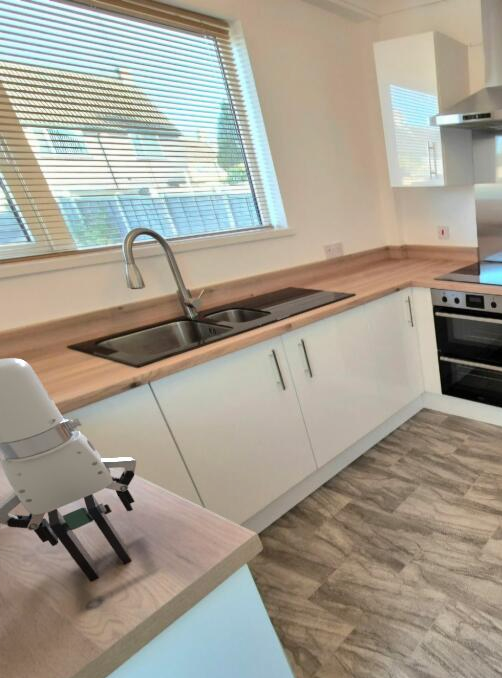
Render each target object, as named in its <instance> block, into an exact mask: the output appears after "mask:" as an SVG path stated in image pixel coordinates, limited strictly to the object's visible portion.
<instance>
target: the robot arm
mask: <svg viewBox="0 0 502 678" xmlns="http://www.w3.org/2000/svg"><path fill="white" fill-rule="evenodd" d="M79 427H83V423H82V422H81V419H79V418H78V417H77V418H74V419H71V418H70V419H68V418H65V417H64V416H63V415H62V413H61V412H60V410H59V408H58V407H57V405H56V404H55V402H54V400H53V399H52V397H51V396H50V395H49V393H48V391H47V389H46V388H45V387H44V385H43V383H42V381H41V380H40V378H39V377H38V375H37V374H36V372H35V370H34V368H33V367H32V366H31V365H30V363H28V362H27V361H26V360H23V359H21V358H15V357H9V358H7V357H5V358H0V453H1V454H2V456H1V457H0V465H1V467H2V470H3V472H4V474H5V477H6V479H7V481H8V484H9V485H10V486H11V488H12V491H14V492H13V493H12V495H10V496H9V497H8V498H6V499H5V500H4V501H3V502H2V503H1V504H0V524H2V525H6V526H8V527H9V528H18V529H19V528H20V529H28V531H34V533H35V534H36V535H37V536H38V538H39V539H40V540H41V542H42V543H46V542H49V543H50V545H51V546H52V547H55V546H57V545H58V544H59V542H60V541H59V539H58V537H57V536H56V535H55V534H54V535H52V534H51V533H50V531H49V529H48V526H50V525H49V521H48V520H47V519H46V518H45V516H46V514H48V512H50V511H52V510H55V509H57V510H58V509H60V508H62V507H66V506H68V505H69V504H72V503H74V502H77V501H80V500H82V499H84V497H86V496H88V495H91V494H93V495H94V494H97V493H98V492H100V491H103V490H105V489H107V490H112V491H115V492H116V495H117V497H118V499H119V500H120V503H122V505H123V507H124V508H125V510H126V511H127V512H131V511H133V506H132V504H133V503H135V502H136V501H135V499H134V497H133V495H132V493H131V492H130V491H129V485H130V484H131V482H132V480H133V479H134V477H135V471H136V466H137V460H136V459H135V458H134V457H113V458H103V457H102V456H101V455H100V453H99V451H97V449H96V447H94V445H93V444H92V443H91V442H90V440H89V439H88V438H87V437H86V436H85V435H84V434H83V433H82V432H80V431H79V430H77V428H79ZM114 468H115V469H116V468H124V470H123V471H122V473H121V475H120V476H119V477H118V476H114V475H112V474H111V471H110V469H114ZM20 504H22V506H23V507H24V509H25V510H26V511H27V512H28V515H21V514H13V513H10V512H11V511H13V510H14V509H15V508H16V507H17V506H18V505H20Z"/></svg>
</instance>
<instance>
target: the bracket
mask: <svg viewBox="0 0 502 678" xmlns="http://www.w3.org/2000/svg"><path fill="white" fill-rule="evenodd" d="M83 500H84V504H85V508H86V510H87V511H88V512H89V514H90V515H91V517H92V518H93V522H94V523H95V524H96V526H97V527H98V529H99V530H100V531H101V533H102V535H103V536H104V538H105V539H106V541H107V543H108V544H109V545H110V547H111V548H112V550H113V551H114V553H115V554H116V556H117V557H118V558H119V560H120V562H121V563H122V565H123V566H125V565H127V564H129V563H131V562H132V558H131V555H130V552H129V549H128V547H127V545H126V544H125V542H124V541H123V539H122V538H121V536H120V534H119V533H118V531H117V530H116V528H115V527H114V525H113V523H112V522H111V520H110V519H109V518H108V516H107V514H105V513H104V512H106V509H105V507H104V505H105V504H103V503H99V502H98V500H97V499H96V497H95V496H94V494H91V495H88V496H86V497H84V498H83ZM47 519H48V523H49V525H50V526H48V529H49V531H50V533H51V534H52V535H54V534H55V535H56V536H57V537H58V541H59V542H60V544H62V546H63V547H64V548H65V549H66V551H67V553H68V554H69V555H70V557H71V558H72V559H73V561H74V562H75V564H77V566H78V567H79V569H80V570H81V571H82V572H83V574H84V575H85V577H86V579H88V581H89V582H90V583H93V582H95V581H97V580H98V579H100V576H99V572H98V569H97V564H96V562H95V560H94V558H92V556H91V555H90V553H89V552H88V551H87V549H86V548H85V546H84V545H83V543H82V542H81V541H80V539H79V538H78V537H77V535H76V534H75V532H74V530H70V528H69V527H68V525H67V523H66V521H65V520H64V518H63V515H62V514H61V512H60V511H59V510H58V509H55V510H52V511H50V512H47Z"/></svg>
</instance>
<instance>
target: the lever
mask: <svg viewBox="0 0 502 678" xmlns="http://www.w3.org/2000/svg"><path fill="white" fill-rule="evenodd" d="M103 505H104V507H105V509H106V512H104V513H105V514H106V515H109V514H111V513H112V512H113V510H112V508H111V507H110V505H109V504H108V503H106V504H103ZM62 517H63V518H64V520H65V521H66V523H67V525H68V527H69V528H70V530H72V531H74V530H77V529H80V528H82V527H84V526H86V525H88V524H90V523H92V522H94V520H93V518H92V517H91V515H90V514H89V512H88V511H87V507H80V508H78V509H75V510H73V511H71V512H68V513H66V514H64V515H62Z"/></svg>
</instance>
